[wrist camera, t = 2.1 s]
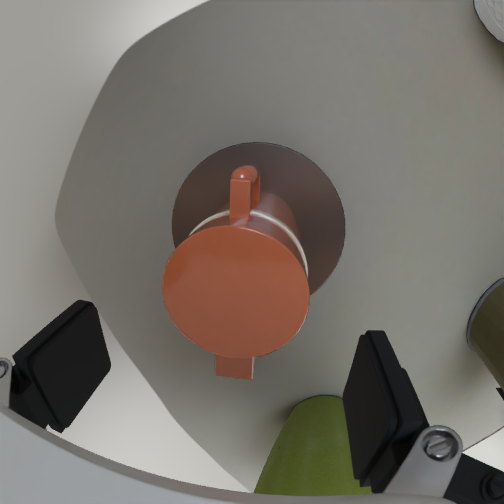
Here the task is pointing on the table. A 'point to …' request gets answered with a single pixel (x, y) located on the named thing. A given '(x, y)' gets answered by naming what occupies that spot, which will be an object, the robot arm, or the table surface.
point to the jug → (240, 278)
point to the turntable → (279, 184)
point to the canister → (489, 331)
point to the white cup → (492, 16)
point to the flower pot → (312, 453)
